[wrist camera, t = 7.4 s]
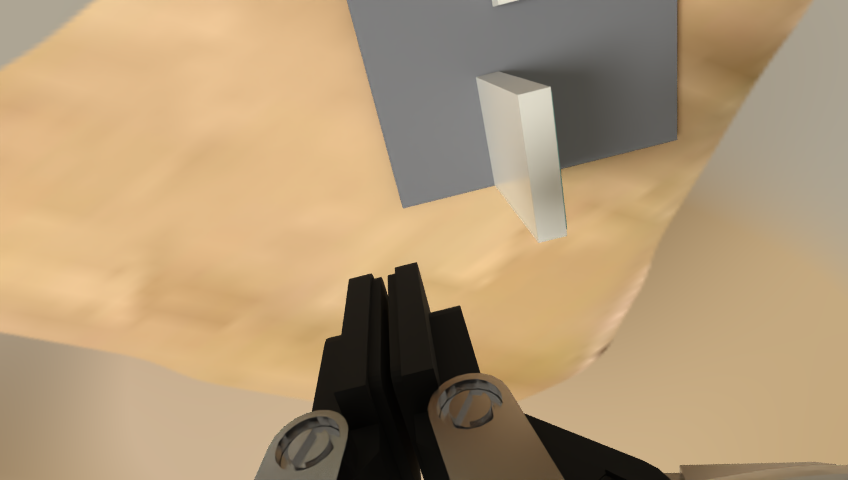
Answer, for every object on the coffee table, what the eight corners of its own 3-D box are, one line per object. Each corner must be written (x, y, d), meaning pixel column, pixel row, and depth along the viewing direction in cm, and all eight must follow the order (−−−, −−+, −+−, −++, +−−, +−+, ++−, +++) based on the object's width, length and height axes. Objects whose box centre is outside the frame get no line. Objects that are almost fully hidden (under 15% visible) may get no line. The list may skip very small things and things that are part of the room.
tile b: (475, 77, 24) (517, 95, 16) (500, 70, 24) (553, 85, 16) (494, 185, 26) (538, 242, 19) (516, 179, 26) (569, 235, 19)
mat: (313, -128, 20) (311, -132, 20) (669, -222, 20) (677, -229, 19) (402, 204, 27) (402, 208, 26) (671, 137, 27) (677, 139, 26)
